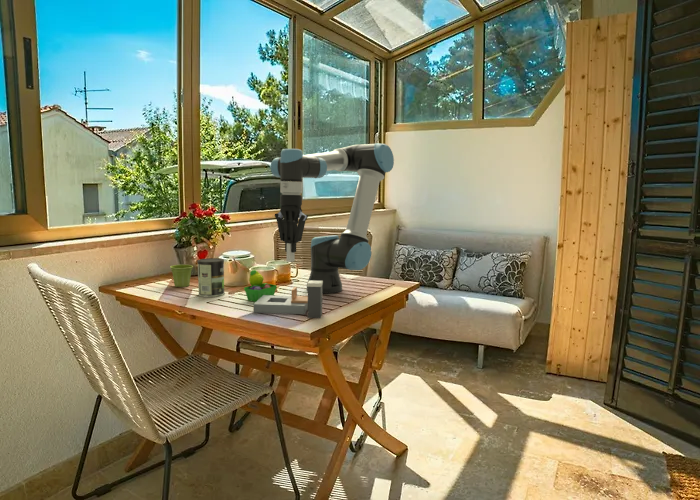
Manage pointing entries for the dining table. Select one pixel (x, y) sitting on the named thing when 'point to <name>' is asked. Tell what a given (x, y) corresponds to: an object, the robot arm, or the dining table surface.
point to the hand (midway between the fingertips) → (290, 261)
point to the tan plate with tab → (298, 297)
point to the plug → (314, 299)
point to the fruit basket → (258, 287)
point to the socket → (279, 305)
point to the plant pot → (181, 275)
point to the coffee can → (211, 277)
